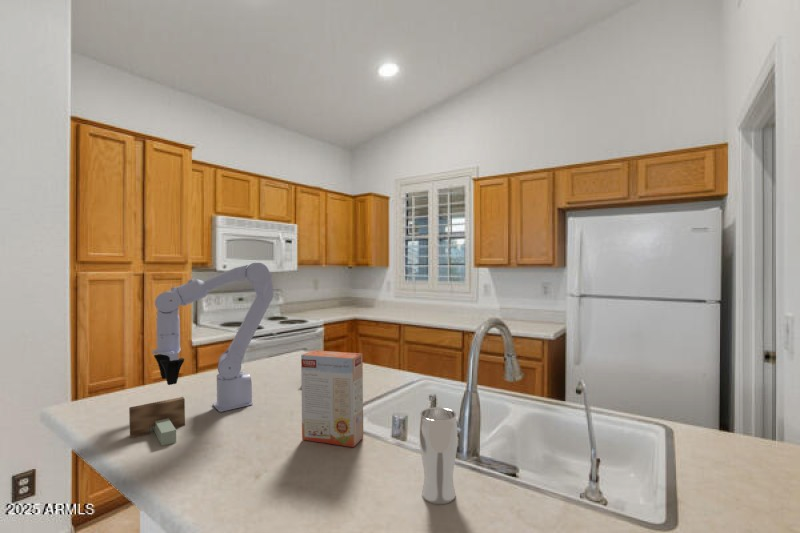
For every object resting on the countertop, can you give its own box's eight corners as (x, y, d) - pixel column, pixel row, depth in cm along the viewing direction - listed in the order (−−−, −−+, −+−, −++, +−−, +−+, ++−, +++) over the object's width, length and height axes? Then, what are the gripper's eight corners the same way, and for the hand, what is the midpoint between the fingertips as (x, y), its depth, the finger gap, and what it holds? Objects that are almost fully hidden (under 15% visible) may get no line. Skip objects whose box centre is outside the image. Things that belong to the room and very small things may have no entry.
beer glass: (417, 485, 76) (417, 407, 76) (453, 483, 77) (452, 406, 77) (422, 507, 70) (422, 421, 69) (461, 505, 70) (461, 420, 70)
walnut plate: (183, 422, 107) (182, 396, 107) (184, 425, 106) (184, 398, 106) (129, 435, 100) (129, 407, 99) (130, 438, 98) (130, 409, 98)
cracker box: (364, 437, 97) (363, 352, 97) (353, 448, 92) (352, 358, 91) (314, 430, 102) (313, 348, 102) (301, 440, 96) (300, 354, 96)
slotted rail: (160, 415, 112) (159, 404, 112) (176, 442, 96) (176, 429, 96) (147, 418, 111) (147, 407, 110) (161, 445, 94) (161, 433, 94)
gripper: (147, 331, 116) (148, 378, 116) (157, 338, 105) (157, 390, 105) (174, 329, 121) (175, 373, 121) (186, 335, 110) (187, 384, 110)
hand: (169, 381), depth 113 cm, fingers open, 7 cm apart
